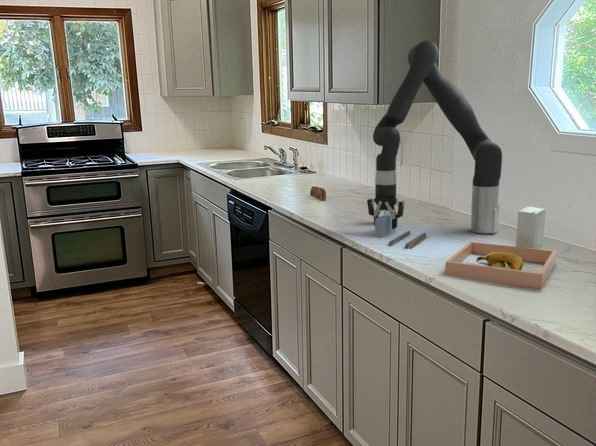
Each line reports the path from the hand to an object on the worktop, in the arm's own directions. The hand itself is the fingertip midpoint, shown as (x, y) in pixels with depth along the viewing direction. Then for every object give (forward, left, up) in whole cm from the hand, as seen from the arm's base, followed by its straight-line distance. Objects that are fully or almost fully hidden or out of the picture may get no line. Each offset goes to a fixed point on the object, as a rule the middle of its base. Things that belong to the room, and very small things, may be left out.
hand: (385, 227), depth 209 cm
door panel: (0, 0, -4) cm, 4 cm away
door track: (-11, +6, -4) cm, 13 cm away
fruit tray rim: (-46, +21, -4) cm, 51 cm away
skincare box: (-50, +1, -4) cm, 50 cm away
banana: (-45, +25, -4) cm, 52 cm away
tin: (+55, -47, -4) cm, 72 cm away
